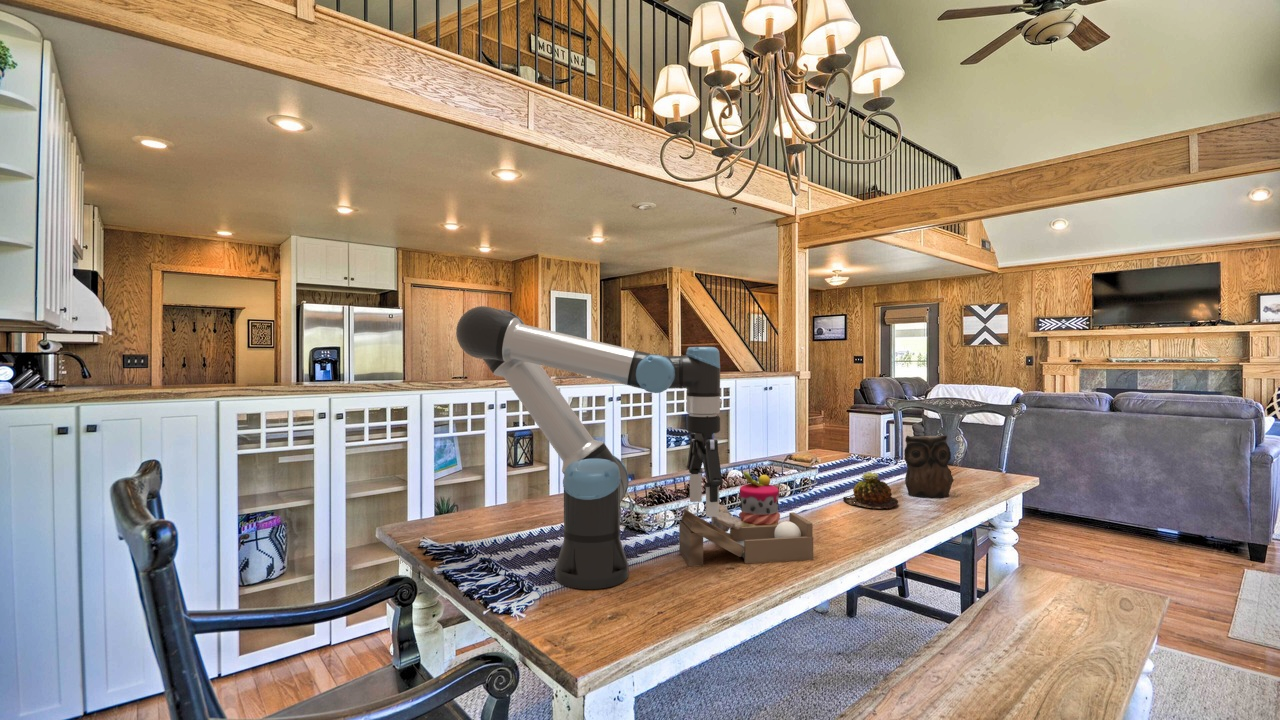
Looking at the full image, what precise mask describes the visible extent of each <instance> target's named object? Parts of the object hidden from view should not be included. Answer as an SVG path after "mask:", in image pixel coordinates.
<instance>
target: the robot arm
mask: <svg viewBox="0 0 1280 720" xmlns="http://www.w3.org/2000/svg"><path fill="white" fill-rule="evenodd" d="M455 329H456V333H455V335H456V336H455V337H456V341H457V343H458V345H459V347H460V348H461V349H462V350H463V352H464V353H466V354H467V355H469V356H471V357H473V358H474V359H479V360H483V362H484V363H485V364H486V366H487V367H488V369H489V370H490V371H491V373H492V374H493V375H494V376H496V377H500V378H501V377H502V378H503V379H504V380H505V381H506V383H507V384H508V385H509V386H510V388H511V390H512V391H513V392H514V394H515V395H516V396H517V398H518V400H519V401H520V402H521V404H522V405H523V407H524V409H526V411H527V412H528V414H529V415H530V417H531V418H532V420H533V421H534V422H535V424H536V425H537V426H538V428H539V429H540V431H541V433H542V434H543V435H544V437H545V438H546V440H547V441H548V442H549V444H550V445H551V447H552V448H553V449H554V451H555V452H556V454H557V456H559V458H560V459H561V461H562V469H561V472H562V474H563V479H562V487H563V542H562V545H561V548H560V551H559V554H558V557H557V560H556V563H555V564H556V565H555V571H554V572H555V578H554V579H555V580H556V582H558V583H559V584H560V585H562V586H564V587H568V588H571V589H578V590H579V589H580V590H599V589H600V590H601V589H607V588H611V587H615V586H617V585H620V584H622V583H624V582H625V581H626V580H627V579H629V563H628V559H627V556H626V553H625V549H624V547H623V544H622V541H621V502H622V500H623V499H624V497H625V496H626V494H627V492H628V490H629V479H630V478H629V473H628V469H627V467H626V466H625V464H624V463H623V461H622V460H621V459H619V458H618V457H617V456H615V455H613V453H612V452H611V451H610V449H609V448H608V446H607V444H605V443H604V441H602V440H596V439H594V438H593V437H592V436H591V434H590V433H589V431H588V430H587V428H586V427H585V426H584V424H583V422H582V421H581V420H580V418H579V417H578V415H577V414H576V413H575V412H574V409H573V408H572V407H571V406H570V404H569V403H568V401H567V400H566V399H565V397H564V396H563V394H562V392H561V391H560V390H559V389H558V388H557V386H556V384H555V383H554V382H553V380H552V379H551V378H550V376H549V374H548V373H547V371H546V370H545V369H544V367H547V368H553V369H556V370H560V371H561V370H562V371H565V372H570V373H573V374H578V375H582V376H587V377H591V378H596V379H600V380H604V381H607V382H608V381H609V382H613V383H617V384H622V385H624V386H629V387H632V388H638V389H641V390H644V391H645V392H647V393H648V392H649V393H654V394H659V393H663V392H665V391H666V390H668V389H669V390H670V389H675V390H676V389H686V413H687V414H688V415H687V417H686V431H687V432H688V433H690V434H689V435H690V442H689V450H688V456H687V457H688V458H687V465H686V469H687V470H688V473H689V502H690V503H699V502H702V499H703V498H702V497H703V495H702V493H703V492H702V486H703V485H702V483H703V481H702V480H703V478H702V476H703V475H702V474H703V473H704V474H705V480H706V482H704V486H703V487H704V488H705V517H707V518H711V517H716V516H719V504H720V486H723V484H724V481H723V476H722V471H721V470H722V469H721V463H720V456H719V442H718V439H713V434H718V433H720V431H721V417H720V416H719V415H718V414H720V413H721V406H720V405H721V404H722V403H723V400H721V361H720V360H721V359H720V358H721V357H720V356H721V355H720V351H719V349H718V348H717V347H715V346H689V347H688V348H686V353H685V355H660V354H654V353H649V352H644V351H641V350H636V349H632V348H627V347H624V346H621V345H620V346H619V345H615V344H610V343H607V342H603V341H602V342H601V341H597V340H593V339H588V338H584V337H580V336H575V335H571V334H568V333H563V332H558V331H554V330H549V329H545V328H542V327H541V328H540V327H536V326H533V325H528V324H525V323H524V321H523V320H521V318H520V317H519V316H517V315H516V314H515V313H513V312H512V311H508V310H506V309H498V308H495V307H491V306H485V305H482V306H476V307H472V308H470V309H469V310H467V311H465V312H464V314H462V315H461V317H460V318H459V320H458V322H457V325H456V328H455ZM542 366H544V367H542ZM702 466H703V468H702ZM703 470H704V472H703Z"/></svg>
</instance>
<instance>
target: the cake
mask: <svg viewBox="0 0 1280 720" xmlns="http://www.w3.org/2000/svg"><path fill="white" fill-rule="evenodd" d="M743 476H744V478H745V479H746V483H747V484H744V485H741V486H740V487H739V501H740V503H739V509H740V511H741V512H739V514H738V518H740V521H741V522H742V527H753V526H772V525H778V524H779V521H780V518H781V514H780V512H779V509H780V508H779V507H780V506H779V498H780V490H779V488H778V487H776V486H775V485H772V484H770V483H771V478H770V476H768V475H767V474H762V475H760V476H759V477H758V479H757V480H758V481H757V480H755V479H753V477H752V476H751V475H750V474H749V473H748V472H747V471H743Z"/></svg>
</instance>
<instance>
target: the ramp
mask: <svg viewBox="0 0 1280 720" xmlns="http://www.w3.org/2000/svg"><path fill="white" fill-rule="evenodd" d="M680 520H681V521H679V522H678V523H679V527H678V528H679V529H678V530H679V536H678V537H679V539H678V541H679V542H678V543H679V544H678V545H679V546H678V547H679V553H680V555H681V556H682V557H683V559H684V560H685V562H686V563H687V565H688V566H689V567H700V566H704V539H706V540H708V541H710V542H712V543H714V544H715V545H717V546H718V547H720V548H722V549H724V550H726V551H728V552H730V553H732V554H734V555H736V556H738V557H739V558H741V557H742V554H743V552H744V550H745V547H744V546H743V545H741V544H739V543H737V542H735V541H733V540H732V539H731V538H732V535H731V534H730V532H725V531H723V530H722V529H720V528H718V527H716V526H714V525H712V522H708V521H707V520H705V519H703V518H701V517H700V516H697V515H696V514H694V513H692V512H690V511H688V510H686V509H684V512H683V514H682V515H681V517H680Z"/></svg>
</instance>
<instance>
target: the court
mask: <svg viewBox="0 0 1280 720" xmlns="http://www.w3.org/2000/svg"><path fill="white" fill-rule="evenodd" d="M788 514H789V515H788V516H789V517H788V520H789V522H792V523H794V524H796V525H797V526H798V528H799V529H800V532H801V537H788V538H775V536H774V532H775V529H776V527H777V525H772V526H753V527H741V528H740V529H735V528H730V529H729V534H731V535H732V538H731V539H732V540H733V541H735V542H737V543H739V544H741V545H743V546H744V547H745V550H744V552H743V554H742V556H741V557H742V559H744V560H743V562H744V564H745V565H746V564H748V565H749V564H761V563H763V564H764V563H776V562H777V563H778V562H779V563H780V562H793V561H794V562H795V561H797V562H798V561H809V560H810V561H811V560H814V536H813V522H811V521H809V520H808V519H805V518H804V517H803V516H801V515H799V514H797V512H789V513H788Z"/></svg>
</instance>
